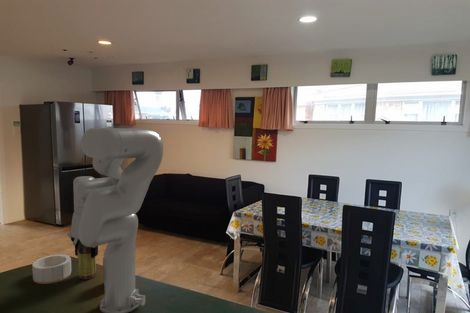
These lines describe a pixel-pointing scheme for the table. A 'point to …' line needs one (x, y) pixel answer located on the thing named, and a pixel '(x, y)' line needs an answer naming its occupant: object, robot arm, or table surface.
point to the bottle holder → (51, 269)
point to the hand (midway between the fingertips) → (86, 254)
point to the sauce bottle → (85, 262)
